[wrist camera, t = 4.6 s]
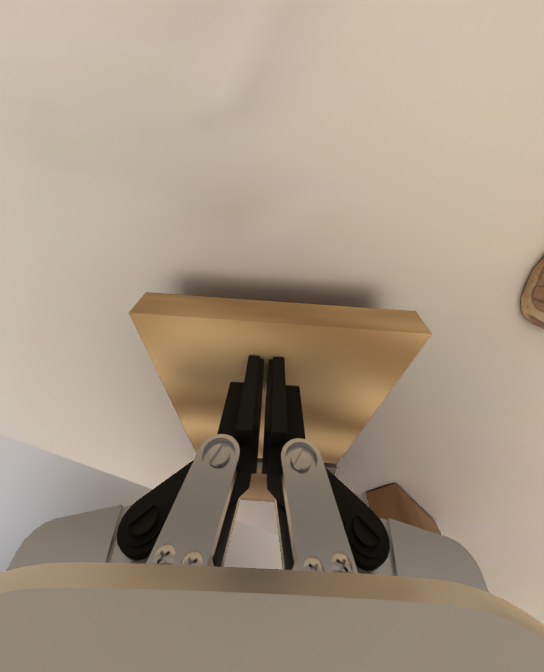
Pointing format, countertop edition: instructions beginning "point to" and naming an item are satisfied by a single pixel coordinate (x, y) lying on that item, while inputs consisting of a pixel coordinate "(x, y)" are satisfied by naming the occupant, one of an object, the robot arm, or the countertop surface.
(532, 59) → the countertop surface
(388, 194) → the countertop surface
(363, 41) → the countertop surface
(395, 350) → the oak plank
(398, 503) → the wooden block stack
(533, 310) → the figurine
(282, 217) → the countertop surface
